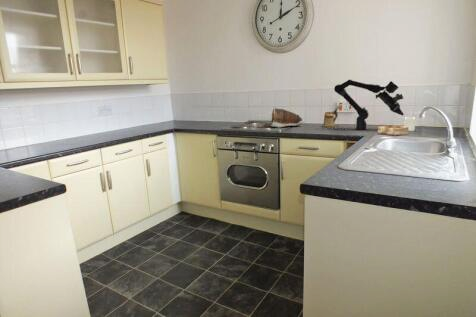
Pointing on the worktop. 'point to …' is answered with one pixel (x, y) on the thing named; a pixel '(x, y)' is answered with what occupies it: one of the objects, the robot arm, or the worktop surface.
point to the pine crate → (393, 130)
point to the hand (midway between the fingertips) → (403, 114)
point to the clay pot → (284, 118)
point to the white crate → (410, 123)
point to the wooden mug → (330, 118)
